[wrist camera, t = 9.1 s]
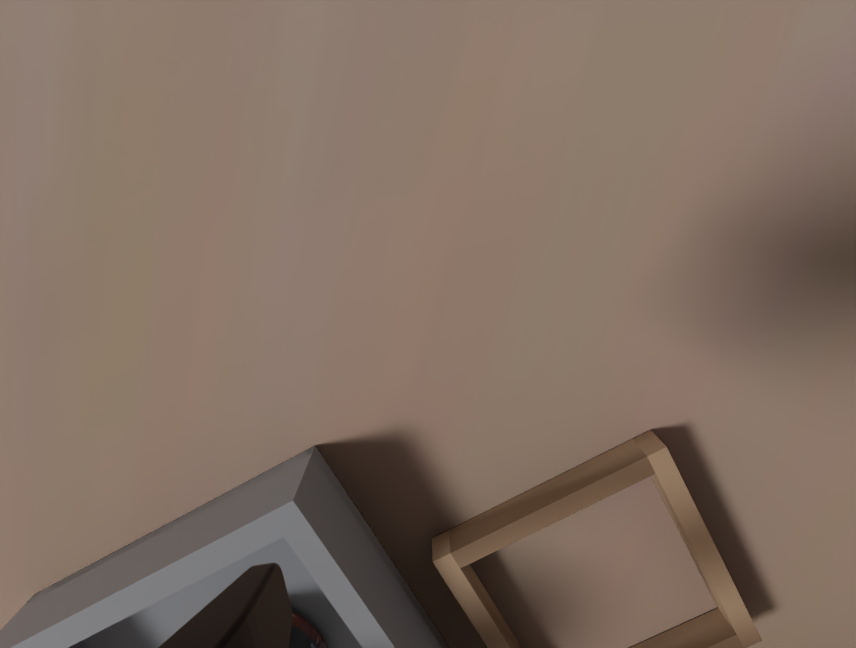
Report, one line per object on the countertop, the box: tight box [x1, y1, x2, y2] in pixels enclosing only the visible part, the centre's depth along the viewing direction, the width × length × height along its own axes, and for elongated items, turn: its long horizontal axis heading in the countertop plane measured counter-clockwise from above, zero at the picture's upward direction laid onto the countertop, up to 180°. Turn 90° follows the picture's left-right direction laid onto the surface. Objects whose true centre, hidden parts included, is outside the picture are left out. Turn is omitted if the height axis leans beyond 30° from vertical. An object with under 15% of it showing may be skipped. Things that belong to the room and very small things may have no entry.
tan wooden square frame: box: [432, 430, 762, 648], centre depth 23 cm, size 10×10×2 cm
